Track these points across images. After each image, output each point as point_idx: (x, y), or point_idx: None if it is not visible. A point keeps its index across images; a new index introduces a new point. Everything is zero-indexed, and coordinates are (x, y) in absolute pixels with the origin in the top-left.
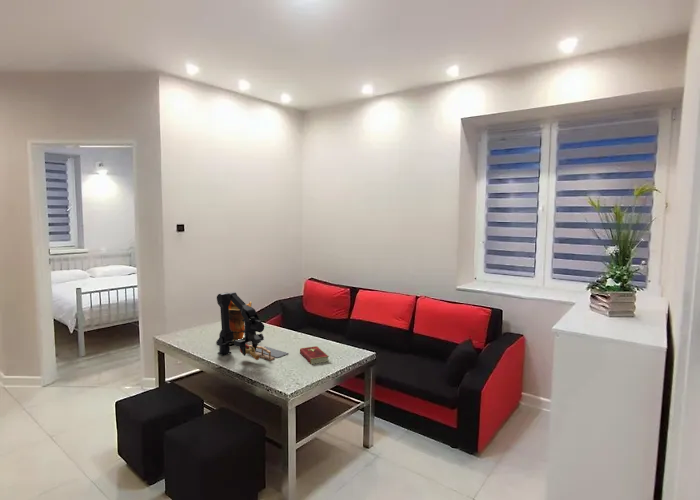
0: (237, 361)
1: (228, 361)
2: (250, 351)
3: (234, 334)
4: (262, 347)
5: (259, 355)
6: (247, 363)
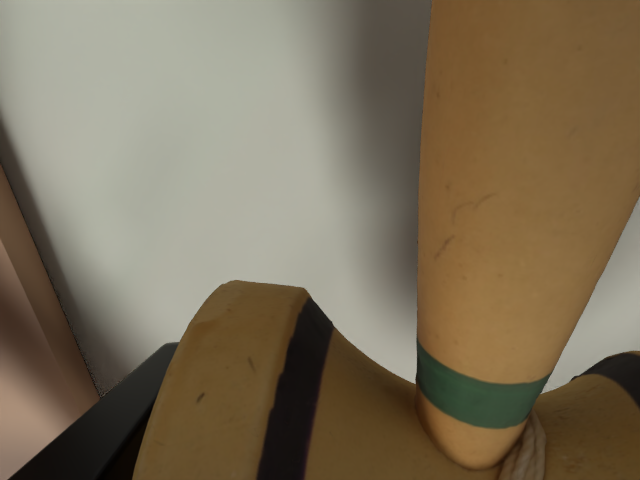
0: None
1: None
2: (532, 358)
3: None
4: None
5: (12, 314)
6: None
